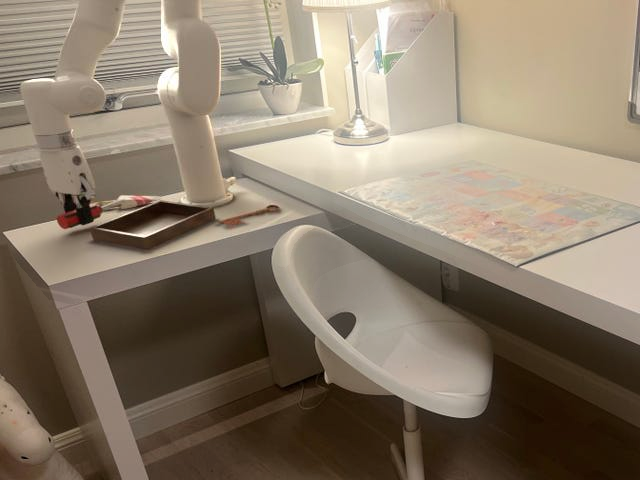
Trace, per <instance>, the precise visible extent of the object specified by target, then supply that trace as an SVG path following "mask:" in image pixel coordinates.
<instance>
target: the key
mask: <svg viewBox="0 0 640 480" xmlns="http://www.w3.org/2000/svg"><path fill="white" fill-rule="evenodd" d="M272 208H274V209H272ZM279 211H281V207H280V206H278V205H277V204H270V205H267V206H266V207H265V208H262V209H258V210H255V211H251V212H248V213H243V214H240V215H237V216H233V217H229V218H225V219H222V220H219V221H218V223H219V224H220V225H221V224H224V225H226V226H227V227H234V226H238V225H241V224H245V222H244V221H243V220H242V219H244V218H249V217H251V216H256V215H260V214H263V213H266V212H269V213H276V212H279Z"/></svg>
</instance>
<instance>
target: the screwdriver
mask: <svg viewBox="0 0 640 480" xmlns="http://www.w3.org/2000/svg"><path fill="white" fill-rule="evenodd" d="M123 202H125V200H124V199H121V200H118V201H116V202H113V203H110V204H107V205H104V206H99V205H96V204H91V205H90V209H91V212H92V215H93V219H94V220H96V219H100V218H101V216H102V214H103V212H104V211H103V210H106V209H110V208H109V207H112V206H115V205H118V204H121V203H123ZM56 222H57V225H58V226H59V227H60V228H61V229H63V230H68V229H72V228H75V227H77V226H81V224H80V221H79V218H78V215H77V212H76V209H75V210H72V211H69V212H66V213H65V212H64V213H61V214H58V215H57V217H56Z"/></svg>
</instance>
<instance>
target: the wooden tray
mask: <svg viewBox="0 0 640 480" xmlns="http://www.w3.org/2000/svg"><path fill="white" fill-rule="evenodd" d="M216 220H217V217H216V212H215V208H214V207H204V206H197V205H191V204H184V203H181V202H176V201H169V200H164V199H163V200H162V199H161V200H157V201H154V202H151V203H149V204H147V205H144V206H143V207H140V208H137V209H134V210H132V211H129V212H126V213H125V214H122V215H119V216H117V217H114V218H112V219H109V220H106V221H104V222H101V223H99V224H96V225H93V226H91V227H89V231H90V234H91V238H92V241H95V242H101V243H106V244H111V245H117V246H122V247H126V248H127V247H128V248H134V249H138V250H144V251H150V250H152V249H154V248H156V247H158V246H160V245H163V244H166V243H167V242H169V241H170V242H171V241H172V240H175V239H176V238H178V237H181V236H183V235H185V234H187V233H190V232H192V231H194V230H196V229H198V228H201V227H203V226H205V225H207V224H209V223H212V222H215V221H216Z"/></svg>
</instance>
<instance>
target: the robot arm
mask: <svg viewBox="0 0 640 480" xmlns="http://www.w3.org/2000/svg"><path fill="white" fill-rule="evenodd" d="M126 3H127V0H77V3H76V8H75V12H74V16H73V19H72V22H71V23H70V26H69V28H68V31H67V34H66V36H65V38H64V40H63V42H62V45H61V48H60V50H59V51H60V52H59V55H58V60H57V65H56V69H55V73H54V78H53V79H52V78H33V79H29V80H25V81H23V82H21V83H20V85H19V92H20V95H21V98H22V101H23V104H24V107H25V109H26V110H25V111H26V113H27V116H28V120H29V123H30V125H31V129H32V132H33V135H34V138H35V142H36V145H37V147H38V152H39V158H40V164H41V167H42V171H43V175H44V178H45V181H46V184H47V186H48V189H49V191H50V192H51V193H52V194H53V195H55V196H56V198H57V199H58V200H59V203H60V205H61V206H62V207H63V210H64V213H66V212H69V211H72V210H75V209H76V212H77V215H78V218H79V221H80V226H86V225H89V224H91V223H94V221H95V219H93V215H92V212H91V209H90V205H91V203H92V202H91V201H92V199H94V198H95V197H96V193H95V192H94V190H96V183H95V181H94V177H93V174H92V171H91V169H90V166H89V164H88V161H87V159H86V156H85V154H84V153H83V150H82V149H81V146H80V145H78V142H77V138H76V135H75V131H74V128H73V125H72V121H71V118H70V115H69V114H92V113H95V112H98V111H99V110H101V109H102V108H103V107H104V106H105V105H106V102H107V94H106V90H105V88H104V87H103V86H102V84H101V83H100V82H99V81H98V80H97V79H95V77H94V76H95V72H96V69H97V66H98V63H99V61H100V58H101V57H102V55H103V53H104V52H105V51H106V50H107V48H108V47H110V45H112V44H113V43H114V41H115V40H116V39H117V38H118V36H119V34H120V30H121V25H122V21H123V17H124V12H125V8H126ZM202 7H203V6H202V0H160V20H161V21H160V22H161V25H160V26H161V29H160V31H161V32H160V33H161V36H160V37H161V45H162V48H163V50H164V52H165V53H166V54H167V55H168V56H169V57H170V58H172V59H174V60H175V61H177V66H176V67H170V68H168V69H166V70H164V71H163V72H162V73H161V75H160V76H159V78H158V82H157V94H158V98H159V101H160V104H161V107H162V109H163V112H164V115H165V118H166V120H167V124H168V127H169V131H170V136H171V140H172V144H173V149H174V153H175V157H176V162H177V166H178V169H179V173H180V177H181V182H182V185H183V190H184V194H185V195H183V196H182V197H181V198H180V199H179V201H180V202H179V203H184V204H191V205H197V206H204V207H211V208H214V207H218V206H221V205H224V204H226V203H229V202H231V201H232V200H233V199H234V195H233V192H232V191H230V190H229V188H230V186H234V185H236V184H237V183H238V180H237V178H236V177H235V176H231V177H229V178H225V177H223V174H222V169H221V164H220V159H219V155H218V151H217V145H216V141H215V134H214V130H213V126H212V122H211V119H210V116H209V115H210V114H212V113H213V112H214V111H215V110H216V108H217V107H218V105H219V102H220V98H221V80H222V78H221V77H222V76H221V75H222V72H221V71H222V49H221V48H222V47H221V43H220V39H219V36H218V35H217V33H216V30H215V29H214V28H213V27H212V26H211V25H210V24H209V23H208V22H206V21H205V20H203V10H202V9H203V8H202Z"/></svg>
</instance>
